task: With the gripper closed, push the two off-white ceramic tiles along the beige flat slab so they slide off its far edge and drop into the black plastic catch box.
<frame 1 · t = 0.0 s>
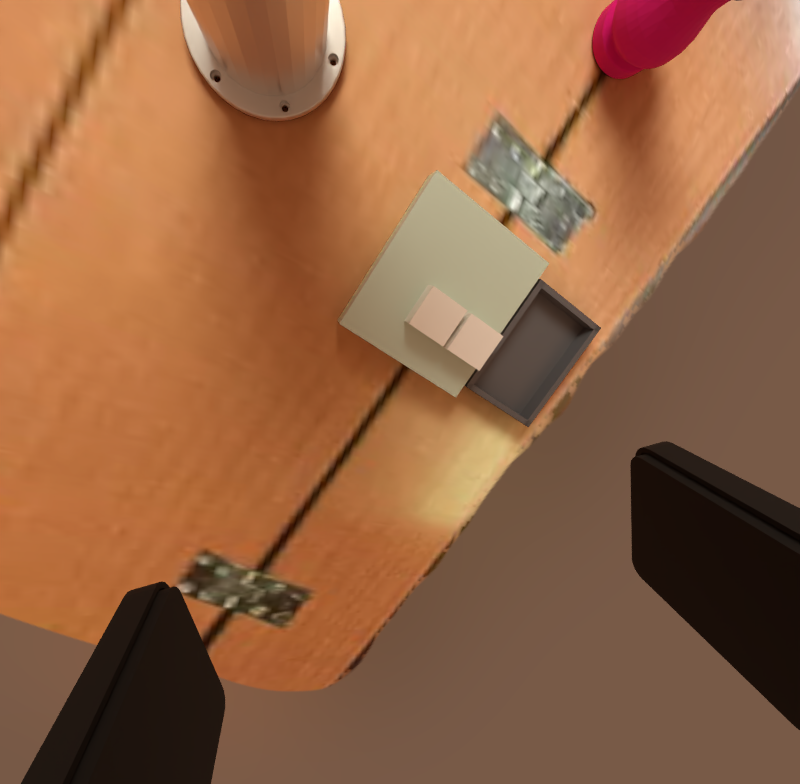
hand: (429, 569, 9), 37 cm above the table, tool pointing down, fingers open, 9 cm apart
catch box: (523, 352, 48), on the table
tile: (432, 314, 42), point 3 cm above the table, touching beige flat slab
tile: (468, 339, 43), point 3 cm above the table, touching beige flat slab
pepper mill: (620, 41, 41), on the table
beige flat slab: (438, 290, 44), on the table
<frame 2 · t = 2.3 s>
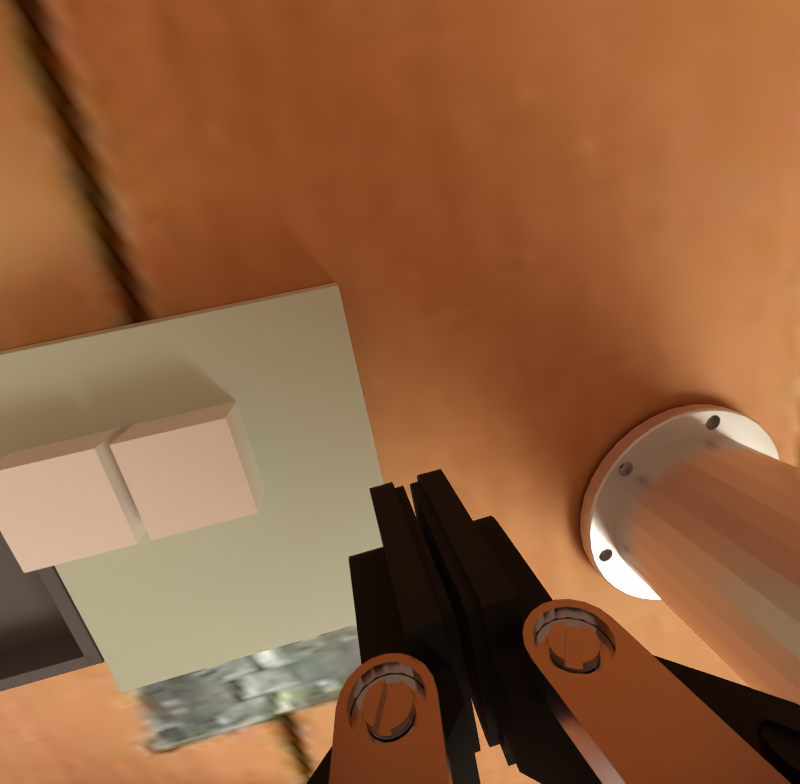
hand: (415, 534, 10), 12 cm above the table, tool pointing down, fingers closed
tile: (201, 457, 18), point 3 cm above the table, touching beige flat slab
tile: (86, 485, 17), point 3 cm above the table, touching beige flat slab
beige flat slab: (233, 475, 21), on the table
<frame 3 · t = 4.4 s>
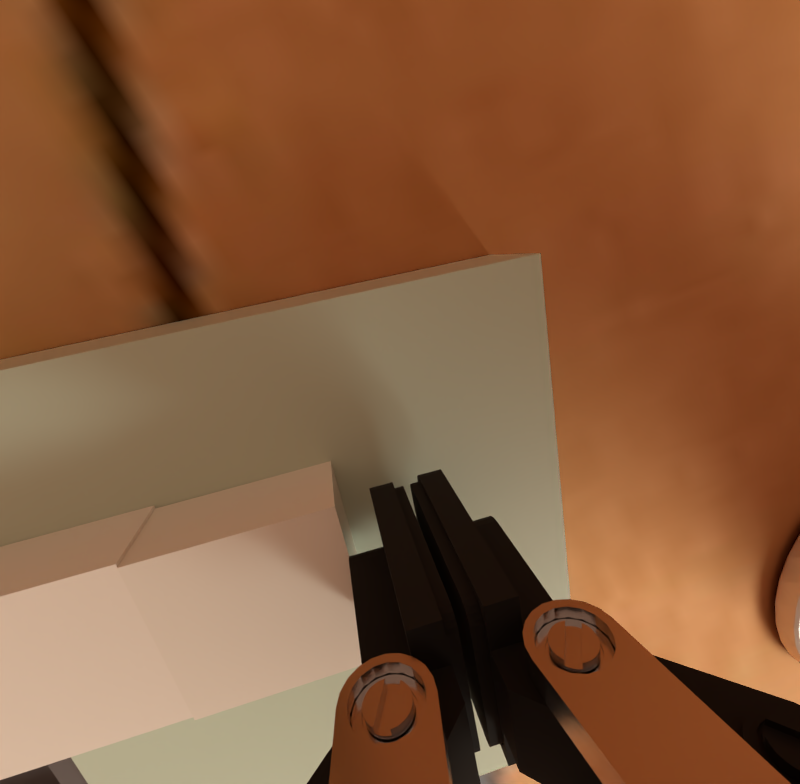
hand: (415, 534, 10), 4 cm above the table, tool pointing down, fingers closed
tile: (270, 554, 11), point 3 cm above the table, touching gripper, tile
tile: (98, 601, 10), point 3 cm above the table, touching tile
beige flat slab: (319, 549, 14), on the table
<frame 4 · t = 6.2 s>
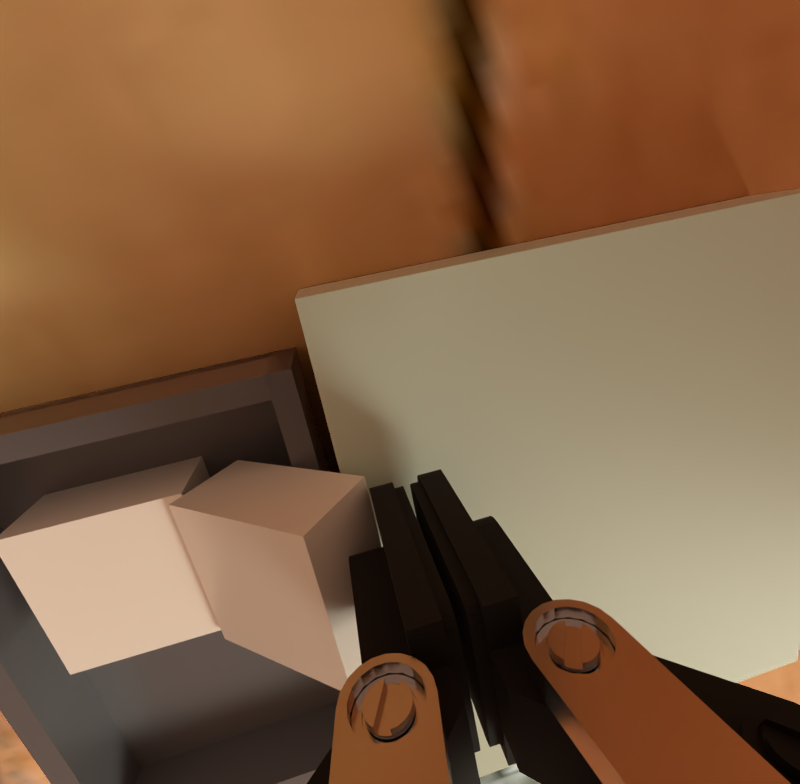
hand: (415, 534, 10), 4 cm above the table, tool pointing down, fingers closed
catch box: (206, 580, 14), on the table
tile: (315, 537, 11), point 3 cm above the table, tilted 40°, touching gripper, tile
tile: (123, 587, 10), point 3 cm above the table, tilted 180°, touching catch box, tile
beige flat slab: (559, 479, 15), on the table
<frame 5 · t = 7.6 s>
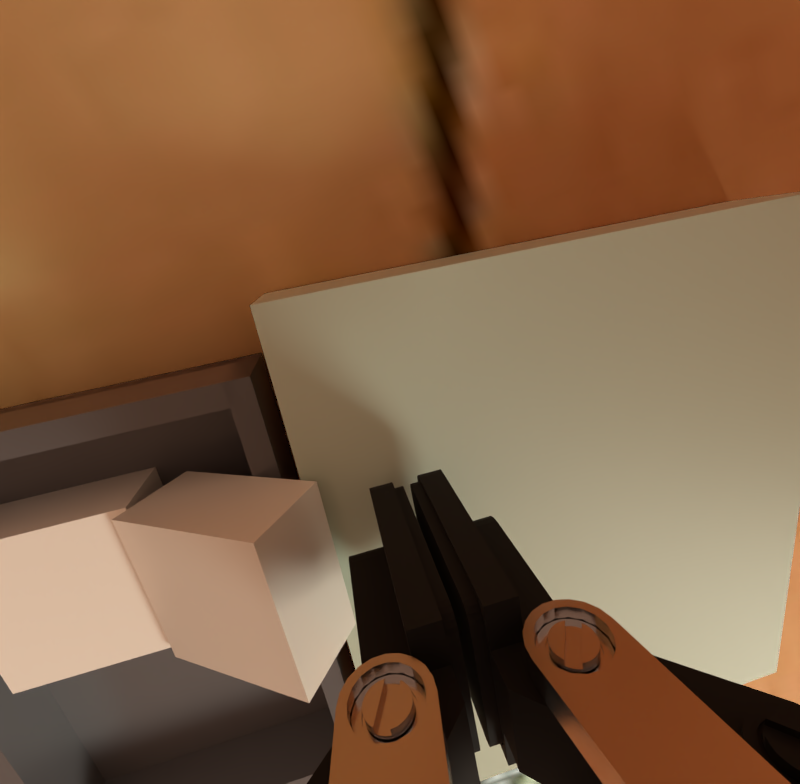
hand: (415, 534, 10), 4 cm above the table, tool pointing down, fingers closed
catch box: (172, 589, 13), on the table
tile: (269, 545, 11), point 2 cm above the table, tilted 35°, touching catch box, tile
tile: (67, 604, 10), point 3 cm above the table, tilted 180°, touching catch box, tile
beige flat slab: (536, 488, 15), on the table
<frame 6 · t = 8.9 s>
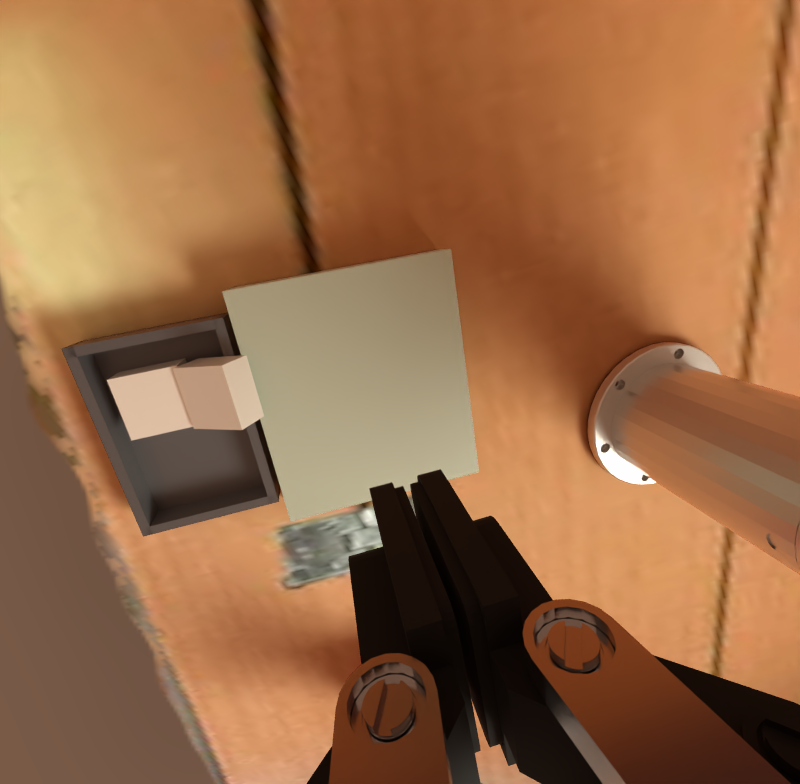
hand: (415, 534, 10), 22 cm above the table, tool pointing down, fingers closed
catch box: (190, 419, 30), on the table
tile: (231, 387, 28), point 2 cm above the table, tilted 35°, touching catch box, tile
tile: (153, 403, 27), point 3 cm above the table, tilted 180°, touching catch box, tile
beige flat slab: (361, 380, 32), on the table
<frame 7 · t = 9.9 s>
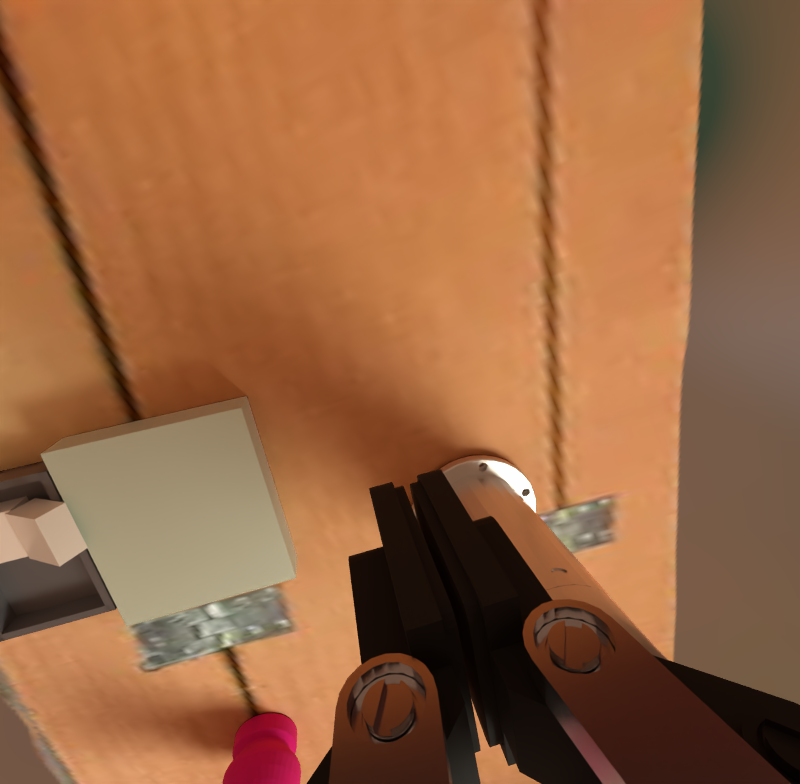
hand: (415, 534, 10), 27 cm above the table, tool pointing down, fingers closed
catch box: (39, 540, 35), on the table
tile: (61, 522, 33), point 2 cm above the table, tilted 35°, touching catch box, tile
pepper mill: (266, 732, 46), on the table
beige flat slab: (190, 502, 37), on the table
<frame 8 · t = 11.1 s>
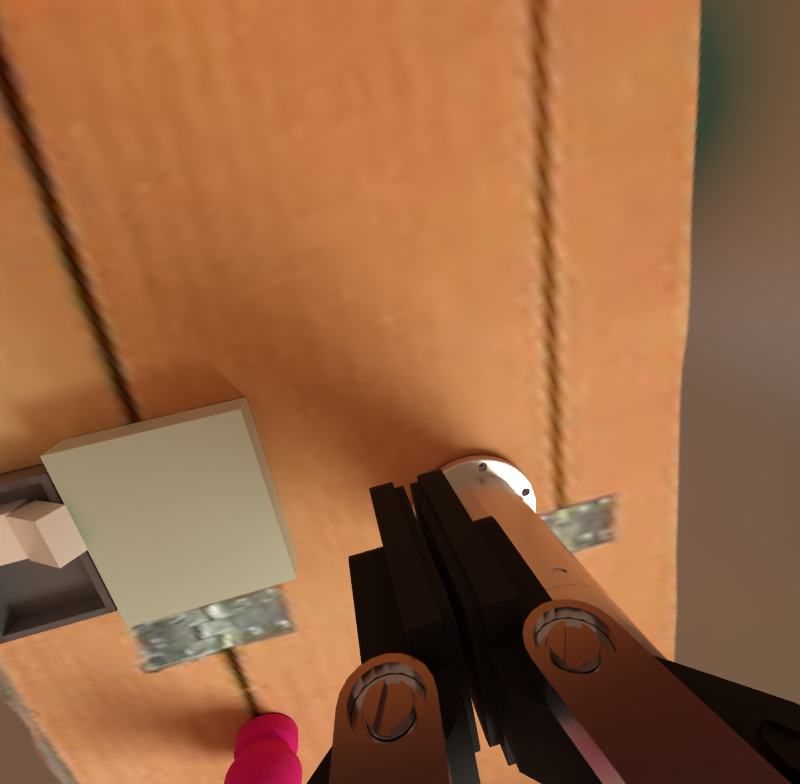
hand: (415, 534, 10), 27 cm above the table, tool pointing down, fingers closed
catch box: (40, 542, 36), on the table
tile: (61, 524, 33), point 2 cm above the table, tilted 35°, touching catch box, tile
pepper mill: (268, 733, 46), on the table
beige flat slab: (190, 503, 37), on the table
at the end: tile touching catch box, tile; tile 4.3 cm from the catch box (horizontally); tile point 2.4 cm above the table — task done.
